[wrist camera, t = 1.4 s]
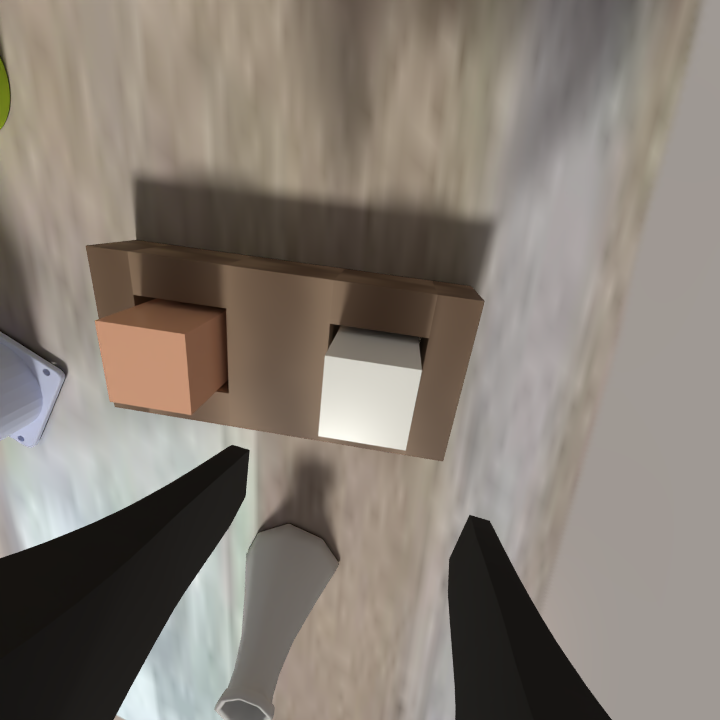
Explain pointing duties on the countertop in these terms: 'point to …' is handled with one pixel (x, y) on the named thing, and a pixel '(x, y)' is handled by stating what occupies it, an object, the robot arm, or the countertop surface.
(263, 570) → the flask
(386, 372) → the white cube
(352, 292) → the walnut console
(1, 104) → the soap dispenser
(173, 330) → the salmon pink cube
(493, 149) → the countertop surface
